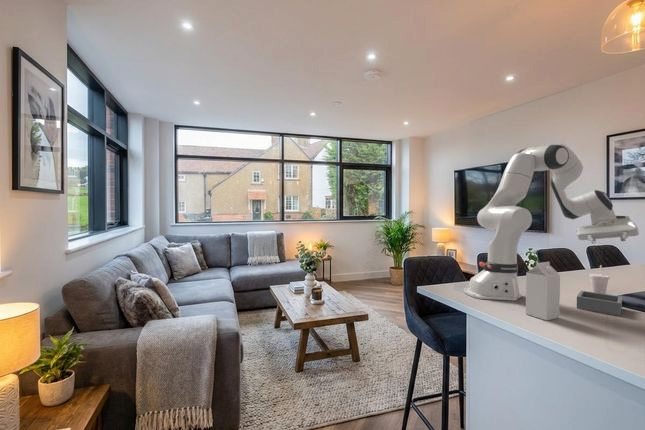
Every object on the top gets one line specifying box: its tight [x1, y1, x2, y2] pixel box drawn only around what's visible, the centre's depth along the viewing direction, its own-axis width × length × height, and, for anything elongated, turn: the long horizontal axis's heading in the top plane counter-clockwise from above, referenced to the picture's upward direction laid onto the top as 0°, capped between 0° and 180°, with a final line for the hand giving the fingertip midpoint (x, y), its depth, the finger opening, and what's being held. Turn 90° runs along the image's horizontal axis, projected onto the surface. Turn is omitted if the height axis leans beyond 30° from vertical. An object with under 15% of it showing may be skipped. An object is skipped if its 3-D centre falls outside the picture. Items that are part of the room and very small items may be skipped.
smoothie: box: [588, 264, 610, 294], centre depth 129 cm, size 6×6×14 cm
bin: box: [576, 290, 623, 317], centre depth 116 cm, size 12×12×4 cm
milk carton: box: [525, 261, 561, 321], centre depth 107 cm, size 7×7×19 cm
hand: (608, 241), depth 133 cm, fingers open, 8 cm apart
